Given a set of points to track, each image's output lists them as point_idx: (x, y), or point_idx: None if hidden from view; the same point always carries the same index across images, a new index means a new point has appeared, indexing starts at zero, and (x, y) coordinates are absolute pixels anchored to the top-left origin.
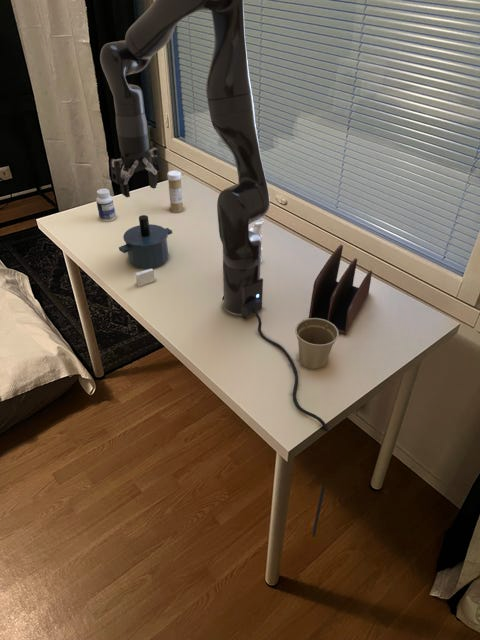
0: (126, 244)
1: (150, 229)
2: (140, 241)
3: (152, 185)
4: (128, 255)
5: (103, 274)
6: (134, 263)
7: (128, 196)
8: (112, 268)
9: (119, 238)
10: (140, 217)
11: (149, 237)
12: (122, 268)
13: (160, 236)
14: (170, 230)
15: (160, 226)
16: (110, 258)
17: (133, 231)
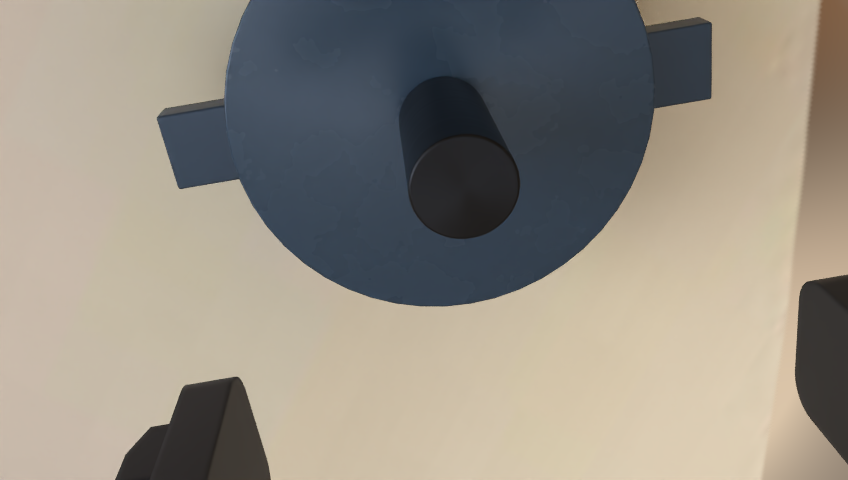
0: None
1: (358, 185)
2: (549, 21)
3: (242, 443)
4: None
5: (789, 41)
6: None
7: (846, 277)
8: None
9: (470, 402)
10: (497, 198)
11: (438, 46)
12: None
13: (333, 2)
14: (171, 125)
15: (248, 189)
16: (642, 209)
17: (509, 231)
